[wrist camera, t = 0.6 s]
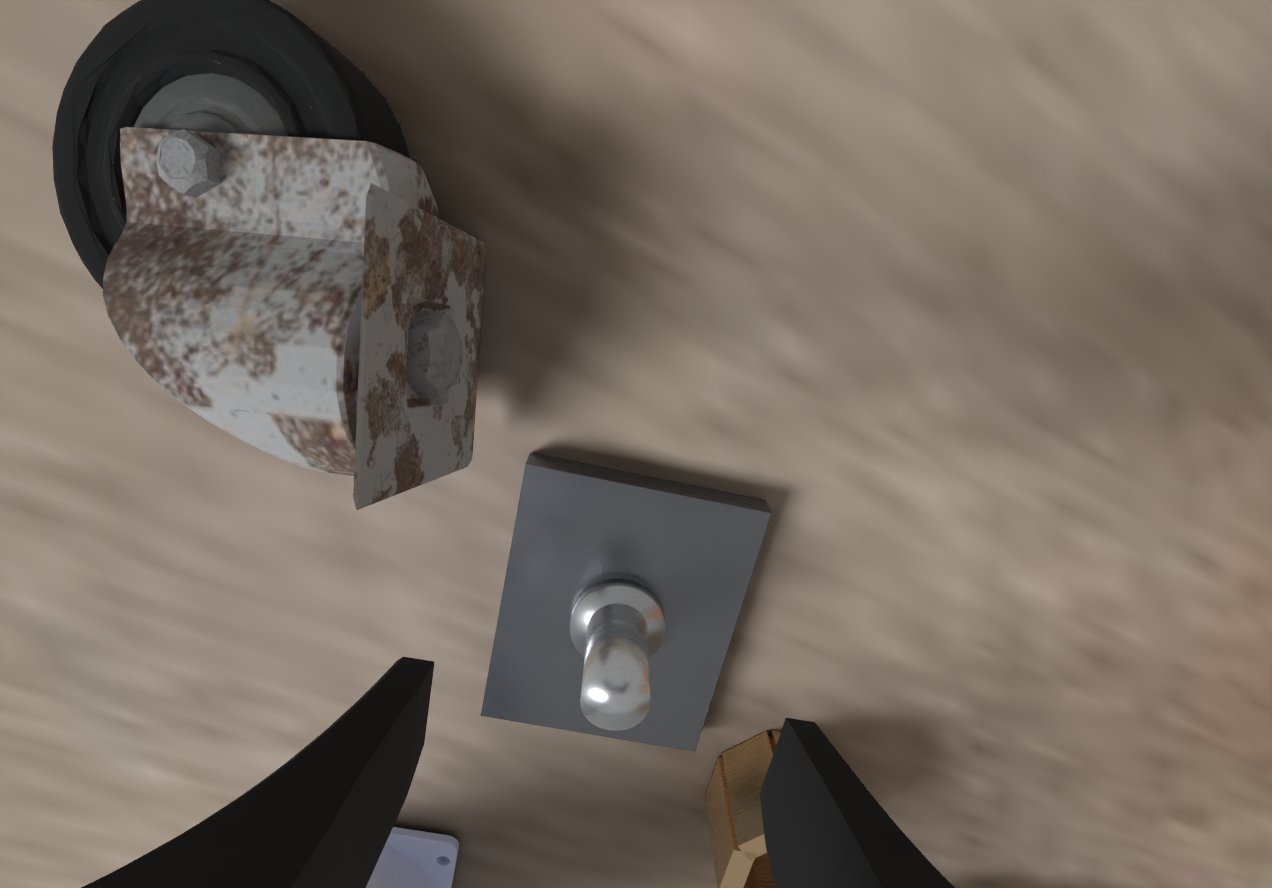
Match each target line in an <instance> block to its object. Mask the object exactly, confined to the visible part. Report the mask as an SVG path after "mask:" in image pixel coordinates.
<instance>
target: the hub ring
mask: <svg viewBox="0 0 1272 888" xmlns="http://www.w3.org/2000/svg"><path fill="white" fill-rule="evenodd" d="M780 734H781V732H780V731H774V730H772V732H771V735H769V734H768V732H767V731H766V732H764V733H762V734H760V735H758V736H756V737H753V738H751V739H749V740H747V741H745V742H743V743H741V744H739V745H737V746H735V747H733V748H731V749H729V750H727V751H725V752H723V753H722V757H718V759H717V762H716V765H715V768H714V771H713V774H712V777H711V780H710V783H709V786H708V789H707V792H706V802H707V810H708V817H709V825H710V833H711V840H712V848H713V856H714V863H715V871H716V879H717V886H718V888H775V884H774V880H773V876H772V872H771V867H770V863H769V859H768V854H767V850H766V844H765V836H764V829H763V821H762V811H761V801H760V791H761V788H762V785H763V782H764V780H765V777H766V774H767V771H768V768H769V765H770V762H771V759H772V757H773V754H774V751H775V748H776V745H777V742H778V739H779V736H780Z"/></svg>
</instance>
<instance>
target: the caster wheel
mask: <svg viewBox="0 0 1272 888" xmlns="http://www.w3.org/2000/svg"><path fill="white" fill-rule="evenodd" d="M53 170H54V183H55V188H56V193H57V198H58V203H59V208H60V213H61V215H62V218H63V220H64V223H65V225H66V228H67V230H68V233H69V235H70V238H71V240H72V243H73V245H74V247H75V249H76V250H77V252H78V254H79V256H80V258H81V260H82V262H83V263H84V265H85V266H86V268H87V269H88V271H89V272H90V274H91V275H92V276H93V278H94V279H95V281H96V282H97V283H98V284H99V285H100V286H101V288H102V289H103V298H104V302H105V305H106V309H107V313H108V317H109V318H110V320H111V322H112V324H113V326H114V328H115V330H116V332H117V334H118V336H119V338H120V340H121V341H122V342H123V344H124V345H125V346H126V348H127V349H128V351H129V352H130V353H131V355H132V356H133V357H134V359H135V360H136V361H137V363H138V364H139V365H140V366H141V367H142V368H143V369H144V370H145V371H146V372H147V373H148V374H149V375H150V376H151V377H152V378H153V379H154V380H155V381H156V382H157V383H158V384H159V385H160V386H161V387H163V388H164V389H165V390H166V391H168V392H169V393H170V394H171V395H172V396H174V397H175V398H176V399H177V400H179V401H180V402H181V403H182V404H184V405H185V406H187V407H188V408H190V409H191V410H192V411H194V412H195V413H197V414H198V415H200V416H201V417H203V418H204V419H206V420H207V421H209V422H210V423H212V424H214V425H215V426H217V427H219V428H221V429H222V430H224V431H226V432H227V433H229V434H231V435H233V436H234V437H236V438H238V439H240V440H242V441H244V442H246V443H248V444H250V445H252V446H254V447H256V448H258V449H260V450H262V451H264V452H267V453H269V454H271V455H274V456H276V457H278V458H280V459H283V460H285V461H287V462H290V463H293V464H296V465H298V466H301V467H304V468H307V469H311V470H315V471H320V472H328V473H336V474H344V475H352V476H354V493H353V497H354V501H355V505H356V509H357V510H358V509H361V508H363V507H366V506H368V505H371V504H374V503H376V502H379V501H381V500H384V499H386V498H389V497H391V496H394V495H396V494H399V493H402V492H404V491H407V490H409V489H412V488H414V487H417V486H419V485H422V484H424V483H427V482H429V481H432V480H435V479H437V478H440V477H442V476H445V475H447V474H450V473H452V472H455V471H457V470H460V469H463V468H465V467H467V466H468V465H469V464H470V462H471V460H472V454H473V439H474V424H475V408H476V393H477V378H478V362H479V347H480V332H481V316H482V301H483V286H484V270H485V247H484V242H482V241H481V240H479V239H477V238H475V237H473V236H471V235H469V234H467V233H465V232H463V231H462V230H460V229H458V228H456V227H454V226H452V225H450V224H448V223H446V222H445V221H443V220H441V219H439V216H438V209H437V204H436V202H435V199H434V196H433V194H432V191H431V188H430V186H429V183H428V181H427V178H426V175H425V173H424V171H423V169H422V168H421V167H420V166H419V165H418V164H417V163H416V162H414V161H413V160H411V159H410V158H409V153H408V149H407V146H406V143H405V140H404V137H403V135H402V132H401V129H400V126H399V124H398V122H397V120H396V119H395V117H394V115H393V113H392V111H391V109H390V108H389V106H388V104H387V102H386V100H385V98H384V97H383V96H382V95H381V93H380V92H379V91H378V90H377V89H376V87H375V86H374V85H373V84H372V83H371V82H370V80H369V79H368V78H367V77H366V76H365V74H364V73H363V72H361V71H360V70H359V69H358V68H357V67H356V66H355V65H354V64H353V63H351V62H350V61H349V60H348V59H347V58H346V57H345V56H344V55H343V54H341V53H340V52H339V51H338V50H337V49H336V48H334V47H333V46H332V45H330V44H329V43H328V42H327V41H325V40H324V39H323V38H322V37H320V36H319V35H318V34H317V33H315V32H314V31H313V30H311V29H310V28H309V27H308V26H306V25H305V24H304V23H303V22H301V21H300V20H299V19H297V18H296V17H295V16H294V15H292V14H291V13H290V12H288V11H287V10H285V9H283V8H281V7H280V6H278V5H276V4H274V3H273V2H271V1H269V0H141V1H138V2H137V3H135V4H134V5H132V6H131V7H129V8H128V9H126V10H125V11H123V12H121V13H120V14H119V15H117V16H116V17H115V18H113V19H112V20H111V21H110V22H108V23H107V24H106V25H105V26H104V27H103V28H102V29H101V31H100V32H99V33H98V34H97V36H96V37H95V38H94V39H93V41H92V42H91V43H90V44H89V46H88V47H87V48H86V50H85V51H84V53H83V54H82V55H81V57H80V58H79V59H78V61H77V62H76V64H75V66H74V69H73V71H72V73H71V75H70V77H69V80H68V82H67V84H66V86H65V88H64V91H63V94H62V98H61V101H60V104H59V108H58V111H57V117H56V124H55V131H54V139H53Z"/></svg>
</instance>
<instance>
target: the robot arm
mask: <svg viewBox="0 0 1272 888" xmlns="http://www.w3.org/2000/svg"><path fill="white" fill-rule="evenodd" d="M433 669H434V662H433V661H426V660H420V659H414V658H408V657H402V658H401V659H399V660H397V661H396V662H395V664H394V665H393V666H392V667H391V668H390V669H389V670H388V671H387V672H386V673H385V674H384V675H383V676H382V677H381V678H380V679H379V680H378V682H377V683H376V684H375V685H374V686H373V687H372V688H371V689H370V690H369V691H368V692H366V693H365V694H364V695H363V696H362V697H361V698H360V699H359V700H358V701H357V702H356V703H355V704H354V705H353V706H352V707H351V708H350V709H349V710H347V711H346V712H345V713H344V714H343V715H342V716H341V717H340V718H339V719H338V720H337V721H335V722H334V723H333V724H332V725H331V726H330V727H329V728H328V729H327V730H325V731H324V732H323V733H322V734H321V735H320V736H318V737H317V738H316V739H315V740H314V741H312V742H311V743H310V744H309V745H307V746H306V747H305V748H304V749H303V750H301V751H300V752H299V753H298V754H297V755H295V756H294V757H293V758H292V759H290V760H289V761H288V762H287V763H285V764H284V765H283V766H281V767H280V768H279V769H278V770H276V771H275V772H274V773H272V774H271V775H270V776H268V777H267V778H266V779H264V780H263V781H261V782H260V783H259V784H257V785H256V786H254V787H253V788H252V789H250V790H249V791H247V792H246V793H245V794H243V795H242V796H240V797H239V798H237V799H236V800H234V801H233V802H231V803H230V804H228V805H227V806H225V807H224V808H222V809H221V810H219V811H217V812H216V813H214V814H213V815H211V816H210V817H208V818H207V819H205V820H204V821H202V822H200V823H199V824H197V825H196V826H194V827H192V828H191V829H189V830H187V831H186V832H184V833H183V834H181V835H179V836H177V837H176V838H174V839H172V840H171V841H169V842H167V843H165V844H163V845H162V846H160V847H158V848H156V849H154V850H152V851H151V852H149V853H147V854H145V855H143V856H142V857H140V858H138V859H136V860H134V861H133V862H131V863H129V864H127V865H125V866H124V867H122V868H120V869H118V870H116V871H114V872H112V873H110V874H108V875H106V876H104V877H102V878H100V879H98V880H96V881H94V882H92V883H90V884H88V885H86V886H84V887H81V888H452V883H453V877H454V871H455V866H456V860H457V855H458V849H459V842H458V841H457V839H456V838H454V837H453V836H449V835H444V834H437V833H431V832H424V831H417V830H411V829H404V828H398V827H393V826H394V824H395V822H396V819H397V817H398V815H399V813H400V810H401V808H402V806H403V803H404V801H405V799H406V797H407V794H408V791H409V788H410V785H411V782H412V779H413V776H414V773H415V770H416V767H417V764H418V761H419V758H420V755H421V751H422V748H423V745H424V740H425V732H426V725H427V717H428V709H429V701H430V693H431V685H432V677H433ZM760 801H761V811H762V821H763V829H764V836H765V844H766V850H767V854H768V859H769V863H770V867H771V872H772V876H773V880H774V884H775V888H955V887H954V886H953V885H952V884H951V883H950V882H949V881H948V880H947V879H946V878H945V877H943V876H942V875H941V874H940V872H939V871H938V870H937V869H936V868H935V867H934V866H933V865H932V864H931V863H930V862H929V861H928V860H927V859H926V858H925V857H924V855H923V854H922V853H921V852H920V851H919V850H918V849H917V848H916V846H915V845H914V844H913V843H912V842H911V841H910V840H909V839H908V838H907V836H906V835H905V834H904V833H903V832H902V831H901V830H900V829H899V827H898V826H897V825H896V824H895V823H894V821H893V820H892V819H891V818H890V817H889V816H888V814H887V813H886V812H885V811H884V810H883V808H882V807H881V806H880V805H879V804H878V802H877V801H876V800H875V799H874V797H873V796H872V795H871V794H870V792H869V791H868V790H867V789H866V787H865V786H864V785H863V784H862V782H861V781H860V780H859V779H858V777H857V776H856V775H855V773H854V772H853V771H852V770H851V768H850V767H849V766H848V764H847V763H846V762H845V761H844V759H843V758H842V757H841V755H840V754H839V753H838V752H837V750H836V749H835V748H834V746H833V745H832V744H831V742H830V741H829V740H828V739H827V737H826V736H825V735H824V734H823V732H822V731H821V730H820V729H819V727H818V726H817V725H816V724H815V722H809V721H802V720H796V719H790V718H786V719H785V722H784V725H783V728H782V731H781V734H780V736H779V739H778V742H777V745H776V748H775V751H774V754H773V757H772V759H771V762H770V765H769V768H768V771H767V774H766V777H765V780H764V782H763V785H762V788H761V791H760ZM444 856H445V857H444Z"/></svg>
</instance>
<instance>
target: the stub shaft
mask: <svg viewBox="0 0 1272 888" xmlns="http://www.w3.org/2000/svg"><path fill="white" fill-rule="evenodd" d="M770 516H771V512H770V510H769V507H768V505H767V503H766V501H765V500H760V499H755V498H750V497H746V496H741V495H736V494H731V493H726V492H721V491H716V490H711V489H706V488H701V487H696V486H691V485H686V484H681V483H676V482H671V481H666V480H661V479H656V478H652V477H647V476H642V475H637V474H632V473H627V472H622V471H617V470H612V469H607V468H602V467H597V466H592V465H587V464H582V463H577V462H572V461H567V460H562V459H558V458H553V457H548V456H543V455H538V454H533V453H530V455H529V457H528V460H527V462H526V465H525V471H524V476H523V482H522V488H521V493H520V499H519V504H518V510H517V516H516V521H515V527H514V532H513V538H512V544H511V549H510V555H509V560H508V566H507V572H506V577H505V583H504V588H503V594H502V600H501V605H500V611H499V617H498V622H497V628H496V633H495V639H494V645H493V650H492V656H491V661H490V667H489V673H488V678H487V684H486V689H485V695H484V701H483V706H482V712H481V716H486V717H492V718H498V719H504V720H510V721H516V722H522V723H528V724H534V725H540V726H546V727H552V728H557V729H563V730H569V731H575V732H581V733H587V734H593V735H599V736H605V737H611V738H617V739H623V740H629V741H635V742H641V743H647V744H653V745H659V746H665V747H671V748H677V749H682V750H688V751H694V752H695V750H696V747H697V744H698V741H699V737H700V734H701V731H702V728H703V725H704V722H705V719H706V716H707V712H708V709H709V706H710V703H711V700H712V697H713V694H714V691H715V688H716V684H717V681H718V678H719V675H720V672H721V669H722V666H723V663H724V659H725V656H726V653H727V650H728V647H729V644H730V641H731V638H732V635H733V631H734V628H735V625H736V622H737V619H738V616H739V613H740V610H741V606H742V603H743V600H744V597H745V594H746V591H747V588H748V585H749V582H750V578H751V575H752V572H753V569H754V566H755V563H756V560H757V557H758V553H759V550H760V547H761V544H762V541H763V538H764V535H765V532H766V528H767V525H768V522H769V519H770Z"/></svg>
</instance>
